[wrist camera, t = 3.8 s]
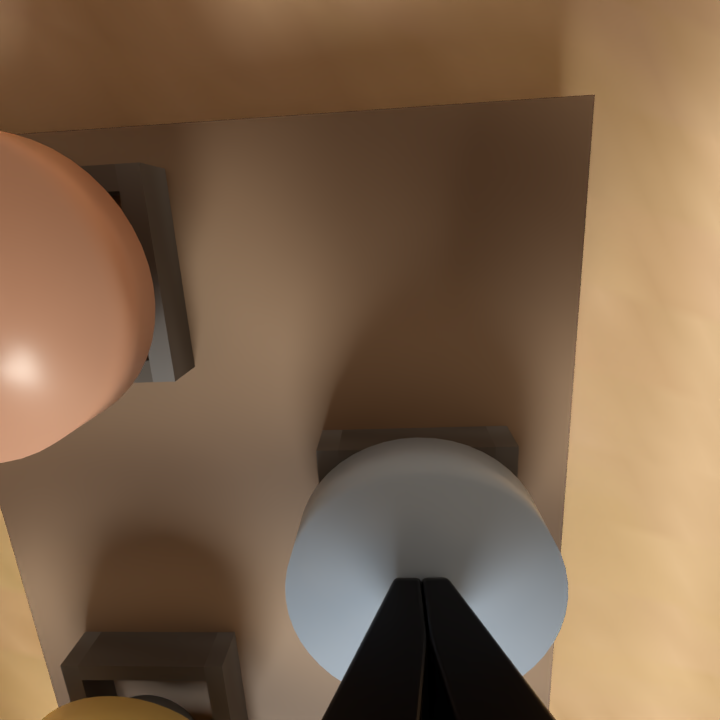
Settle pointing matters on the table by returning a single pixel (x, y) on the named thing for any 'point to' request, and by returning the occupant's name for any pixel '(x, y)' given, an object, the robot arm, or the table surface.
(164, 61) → the table surface
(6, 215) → the terracotta button
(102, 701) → the ochre button
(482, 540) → the slate-blue button
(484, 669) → the robot arm
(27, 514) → the board
